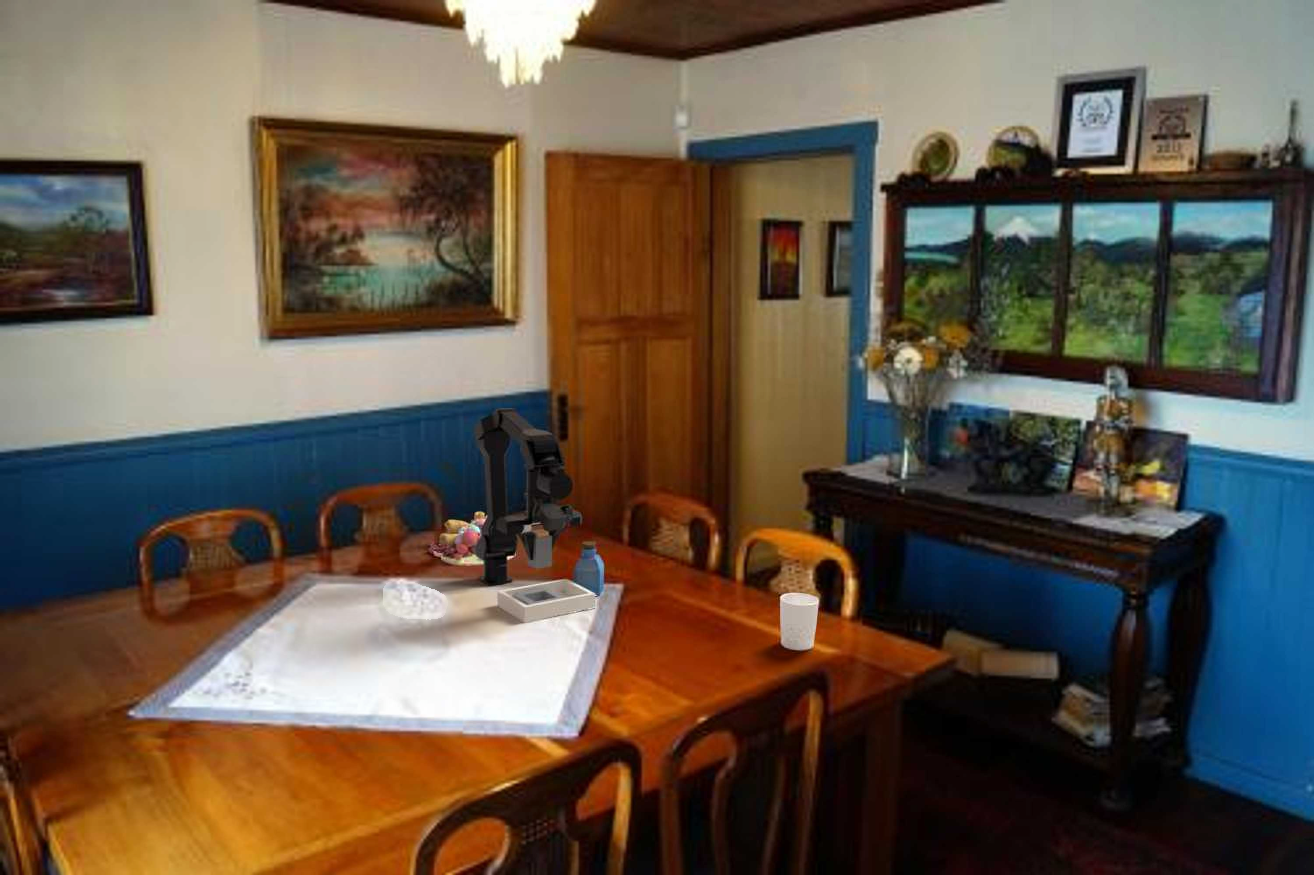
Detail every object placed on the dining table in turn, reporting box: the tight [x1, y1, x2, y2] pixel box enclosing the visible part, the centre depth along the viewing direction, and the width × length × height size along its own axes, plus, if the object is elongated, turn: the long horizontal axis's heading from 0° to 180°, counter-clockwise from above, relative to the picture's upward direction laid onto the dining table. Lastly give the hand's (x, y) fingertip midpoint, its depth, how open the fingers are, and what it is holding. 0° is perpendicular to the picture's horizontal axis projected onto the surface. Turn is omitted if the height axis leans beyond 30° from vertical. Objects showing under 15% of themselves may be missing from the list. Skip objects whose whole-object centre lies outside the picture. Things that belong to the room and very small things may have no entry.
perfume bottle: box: [573, 540, 605, 597], centre depth 249 cm, size 6×6×12 cm
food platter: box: [427, 511, 517, 567], centre depth 281 cm, size 25×24×9 cm
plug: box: [526, 528, 553, 569], centre depth 235 cm, size 4×4×8 cm
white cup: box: [779, 592, 820, 651], centre depth 218 cm, size 8×8×10 cm
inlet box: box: [496, 578, 596, 624], centre depth 238 cm, size 13×18×4 cm
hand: (539, 558), depth 235 cm, fingers closed on plug, 4 cm apart
